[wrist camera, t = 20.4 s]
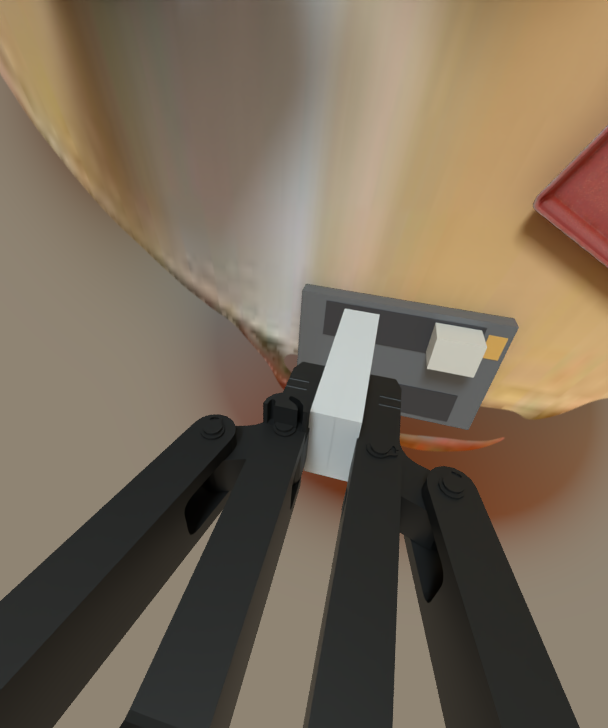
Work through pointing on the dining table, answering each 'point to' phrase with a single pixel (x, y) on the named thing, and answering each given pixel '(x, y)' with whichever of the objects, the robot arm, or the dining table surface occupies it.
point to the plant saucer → (581, 199)
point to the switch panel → (408, 349)
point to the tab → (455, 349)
